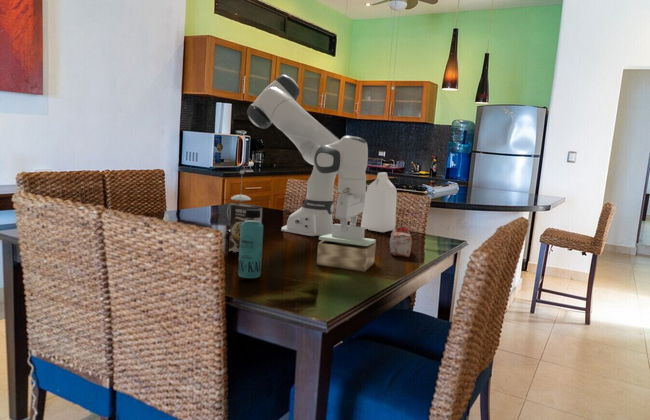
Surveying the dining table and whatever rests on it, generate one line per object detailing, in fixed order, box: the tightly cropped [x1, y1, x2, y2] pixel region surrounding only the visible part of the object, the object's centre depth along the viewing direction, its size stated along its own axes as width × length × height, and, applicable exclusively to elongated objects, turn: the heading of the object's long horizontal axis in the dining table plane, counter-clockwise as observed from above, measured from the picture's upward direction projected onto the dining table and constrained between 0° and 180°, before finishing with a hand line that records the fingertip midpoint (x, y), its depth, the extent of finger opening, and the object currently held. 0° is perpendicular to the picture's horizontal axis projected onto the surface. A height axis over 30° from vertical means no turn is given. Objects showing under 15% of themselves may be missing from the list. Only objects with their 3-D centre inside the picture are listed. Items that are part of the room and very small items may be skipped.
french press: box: [226, 170, 252, 232], centre depth 203 cm, size 10×12×25 cm
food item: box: [389, 226, 413, 258], centre depth 186 cm, size 14×8×10 cm, turn 177°
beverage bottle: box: [237, 209, 264, 279], centre depth 139 cm, size 6×7×20 cm
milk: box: [360, 171, 398, 233], centre depth 232 cm, size 12×12×26 cm
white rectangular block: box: [332, 223, 366, 240], centre depth 164 cm, size 10×3×4 cm, turn 68°
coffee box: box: [228, 202, 264, 253], centre depth 171 cm, size 9×6×16 cm
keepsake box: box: [316, 240, 377, 273], centre depth 165 cm, size 16×12×7 cm
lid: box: [318, 234, 377, 246], centre depth 165 cm, size 16×13×1 cm
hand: (348, 229), depth 164 cm, fingers open, 8 cm apart
